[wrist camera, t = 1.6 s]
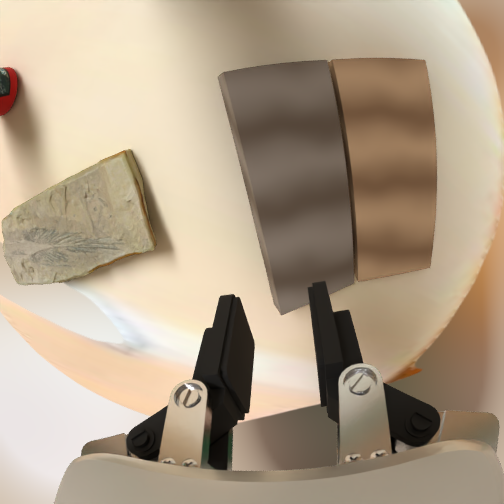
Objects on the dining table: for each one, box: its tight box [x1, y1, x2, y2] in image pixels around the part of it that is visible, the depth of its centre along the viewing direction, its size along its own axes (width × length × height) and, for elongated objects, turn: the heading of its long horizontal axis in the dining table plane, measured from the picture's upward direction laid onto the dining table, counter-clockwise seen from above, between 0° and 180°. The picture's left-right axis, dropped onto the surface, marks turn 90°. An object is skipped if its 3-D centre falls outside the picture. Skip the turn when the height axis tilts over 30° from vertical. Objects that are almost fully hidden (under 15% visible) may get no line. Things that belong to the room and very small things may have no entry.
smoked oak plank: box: [218, 60, 354, 315], centre depth 23 cm, size 22×9×2 cm, turn 13°
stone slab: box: [2, 149, 157, 285], centre depth 29 cm, size 12×4×30 cm
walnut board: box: [328, 58, 437, 282], centre depth 23 cm, size 22×9×2 cm, turn 13°
